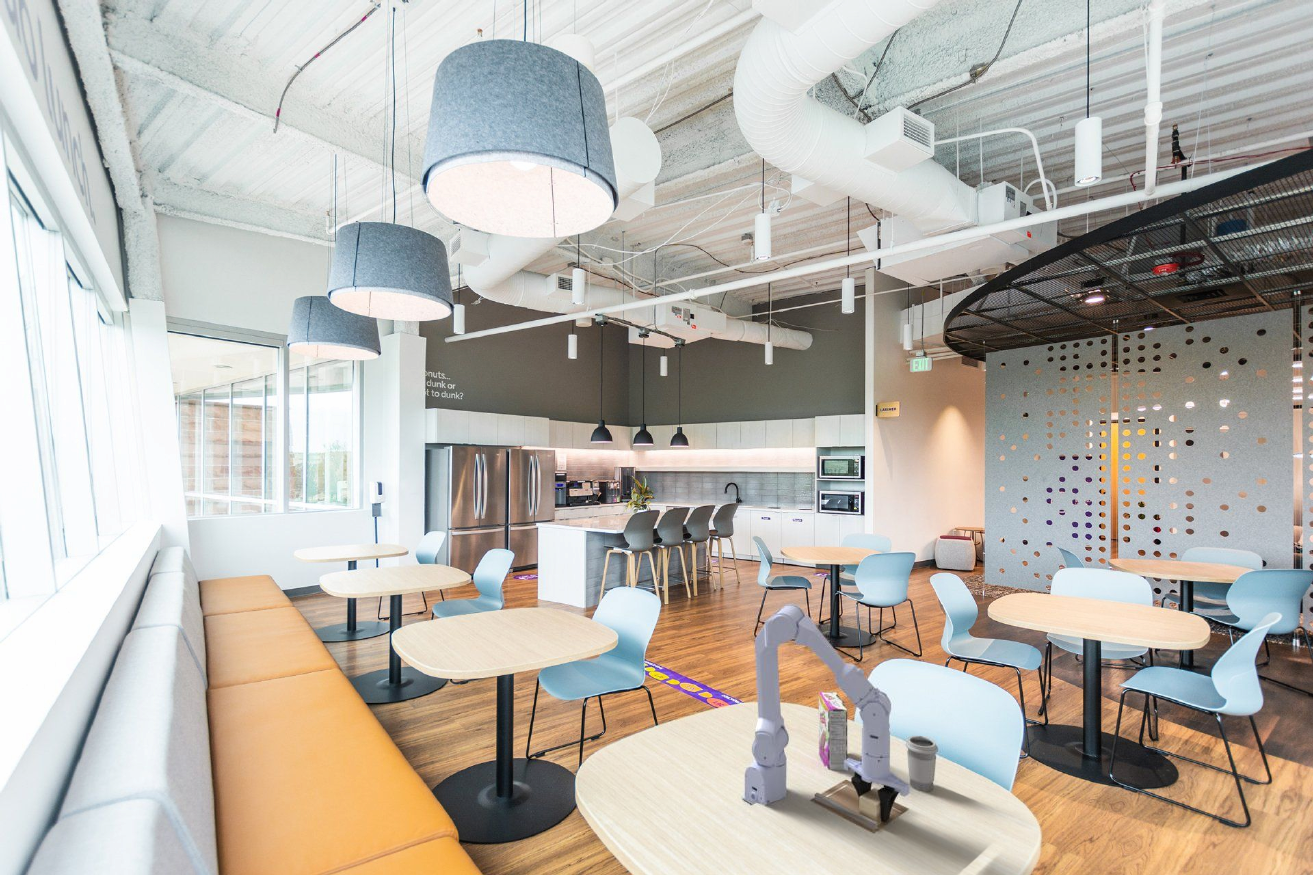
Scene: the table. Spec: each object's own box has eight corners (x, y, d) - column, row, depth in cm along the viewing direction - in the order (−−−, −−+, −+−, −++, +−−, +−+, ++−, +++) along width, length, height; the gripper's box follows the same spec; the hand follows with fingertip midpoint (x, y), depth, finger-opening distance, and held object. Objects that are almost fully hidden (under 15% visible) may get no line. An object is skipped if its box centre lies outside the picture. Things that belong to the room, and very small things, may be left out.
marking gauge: (876, 826, 138) (876, 804, 138) (859, 817, 141) (859, 796, 141) (902, 808, 145) (902, 787, 145) (885, 800, 148) (885, 780, 148)
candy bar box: (817, 754, 172) (817, 691, 172) (836, 754, 172) (837, 691, 172) (827, 776, 161) (828, 708, 161) (848, 776, 161) (848, 709, 161)
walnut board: (873, 840, 135) (873, 827, 135) (809, 806, 148) (809, 794, 148) (909, 815, 144) (909, 803, 144) (845, 785, 157) (845, 774, 157)
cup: (935, 787, 156) (936, 736, 156) (939, 802, 150) (940, 749, 150) (903, 783, 158) (904, 733, 158) (906, 797, 152) (906, 745, 152)
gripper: (835, 744, 144) (835, 806, 144) (897, 770, 133) (896, 837, 133) (854, 735, 149) (853, 795, 149) (915, 759, 138) (914, 824, 138)
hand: (875, 814), depth 141 cm, fingers closed on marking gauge, 4 cm apart
